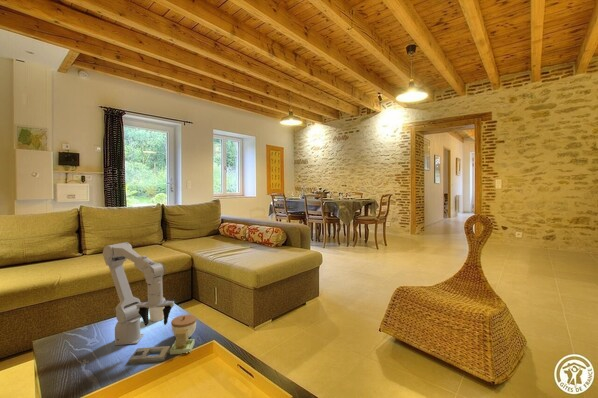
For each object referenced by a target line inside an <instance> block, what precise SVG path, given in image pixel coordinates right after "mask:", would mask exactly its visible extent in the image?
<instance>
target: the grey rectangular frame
mask: <svg viewBox="0 0 598 398" xmlns="http://www.w3.org/2000/svg"><path fill="white" fill-rule="evenodd" d="M170 349H171V346H170V345H165V346H155V347H153V346H152V347H141V348H140V347H139V348H137V349H136V350H135V351H134V352H133V354H132V355H131V356H130V358H129V359H128V364H140V363H152V362H153V363H154V362H163V361H165V360H166V359H167V356H168V355H169V354H170ZM152 353H153V354H154V353H155V354H156V353H159V355H150V354H152Z"/></svg>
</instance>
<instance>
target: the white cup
mask: <svg viewBox="0 0 598 398" xmlns="http://www.w3.org/2000/svg"><path fill="white" fill-rule="evenodd" d="M163 300H165V301H166V298H165V297H163ZM164 308H165V307H156V308H149V312H148V315H149V321H151V322H152V323H153V322H155V323H156V322H160V321H162V320H163V321H164V314H163V309H164Z"/></svg>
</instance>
